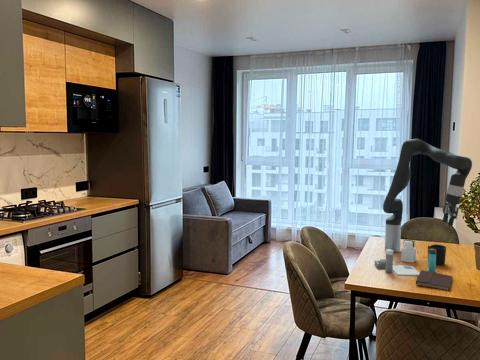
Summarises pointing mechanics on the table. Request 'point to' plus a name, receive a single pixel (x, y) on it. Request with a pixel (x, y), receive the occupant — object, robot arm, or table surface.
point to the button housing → (380, 265)
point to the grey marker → (389, 261)
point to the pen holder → (438, 253)
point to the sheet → (405, 270)
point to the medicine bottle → (408, 251)
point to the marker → (432, 260)
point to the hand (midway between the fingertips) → (447, 223)
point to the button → (382, 260)
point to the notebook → (434, 280)
